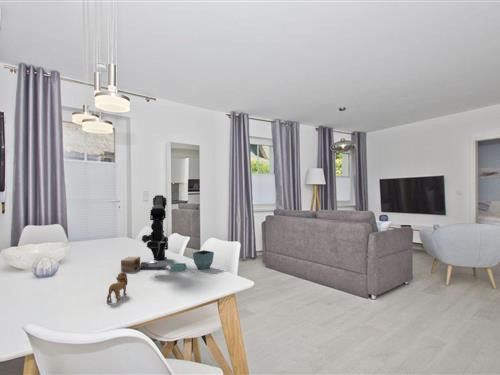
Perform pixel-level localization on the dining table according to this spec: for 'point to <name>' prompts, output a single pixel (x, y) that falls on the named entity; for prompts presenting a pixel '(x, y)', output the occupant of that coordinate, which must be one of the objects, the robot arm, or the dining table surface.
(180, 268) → the cradle
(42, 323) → the dining table surface
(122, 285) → the lion figurine
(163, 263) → the axle
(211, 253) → the flower pot
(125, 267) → the brown block
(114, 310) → the dining table surface
